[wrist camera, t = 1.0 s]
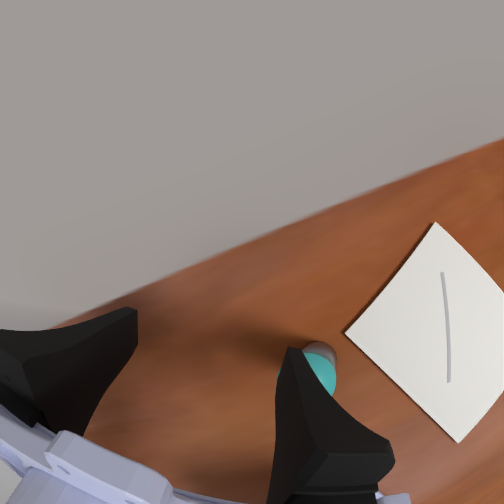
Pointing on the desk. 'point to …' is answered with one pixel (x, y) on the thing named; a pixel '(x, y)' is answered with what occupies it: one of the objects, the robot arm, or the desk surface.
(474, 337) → the notepad
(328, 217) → the desk surface
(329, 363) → the marker
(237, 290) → the desk surface
